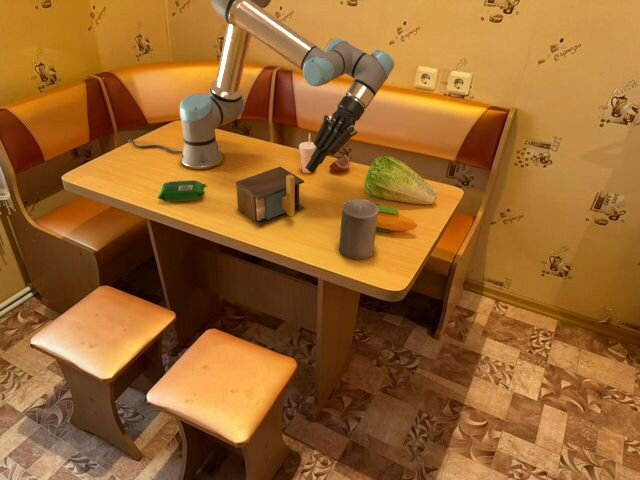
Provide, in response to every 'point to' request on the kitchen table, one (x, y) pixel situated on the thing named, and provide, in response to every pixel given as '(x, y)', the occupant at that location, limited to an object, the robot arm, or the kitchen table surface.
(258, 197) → the box
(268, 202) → the sliding door
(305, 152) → the smoothie
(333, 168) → the fruit slice
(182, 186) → the snack package
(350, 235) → the pillar candle
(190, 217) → the kitchen table surface
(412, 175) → the lettuce
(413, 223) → the corn
